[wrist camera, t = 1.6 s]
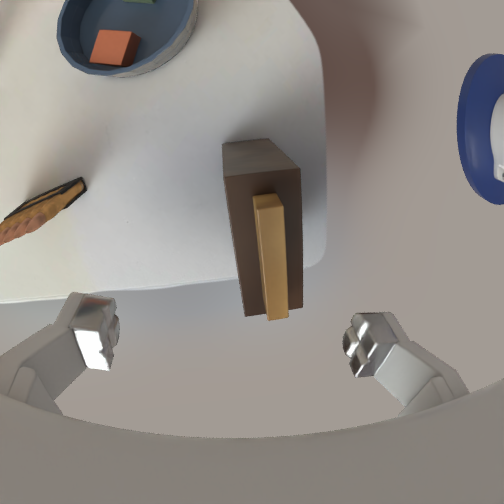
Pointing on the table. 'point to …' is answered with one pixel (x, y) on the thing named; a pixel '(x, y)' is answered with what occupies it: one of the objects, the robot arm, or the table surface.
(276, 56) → the table surface
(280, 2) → the table surface
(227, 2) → the table surface
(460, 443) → the robot arm
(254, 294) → the brown thick block
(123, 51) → the block
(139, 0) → the block
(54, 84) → the table surface
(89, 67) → the bowl
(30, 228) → the ammunition clip
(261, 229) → the tan wooden bar
